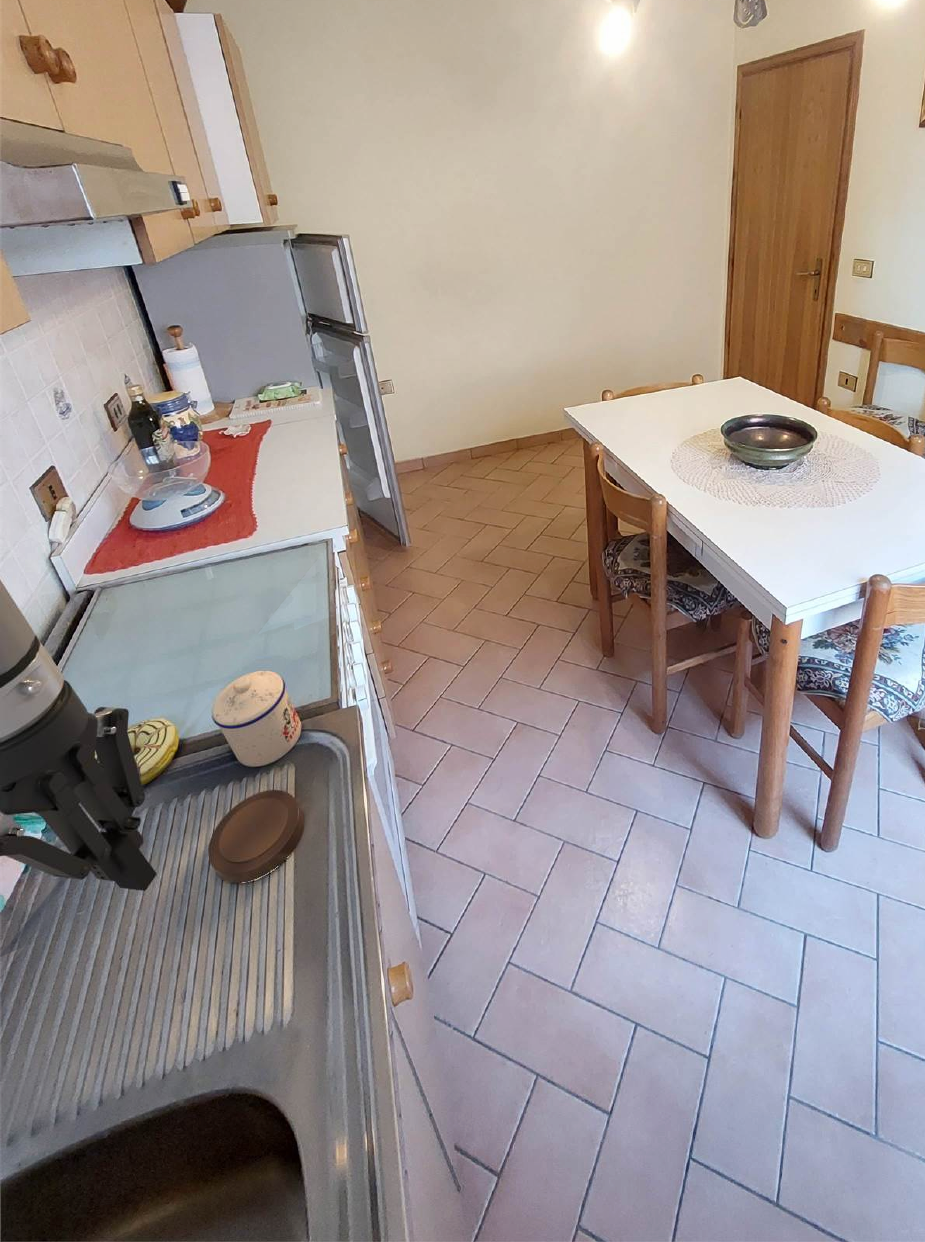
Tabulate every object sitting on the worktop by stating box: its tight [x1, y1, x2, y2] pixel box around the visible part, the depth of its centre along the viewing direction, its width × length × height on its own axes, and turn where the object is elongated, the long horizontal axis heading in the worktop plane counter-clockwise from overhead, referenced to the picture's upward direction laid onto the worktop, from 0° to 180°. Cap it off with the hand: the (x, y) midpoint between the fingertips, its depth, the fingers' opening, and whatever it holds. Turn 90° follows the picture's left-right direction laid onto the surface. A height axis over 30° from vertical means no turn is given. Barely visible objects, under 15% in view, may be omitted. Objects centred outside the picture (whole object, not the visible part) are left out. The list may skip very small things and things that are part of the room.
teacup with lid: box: [211, 670, 302, 768], centre depth 85 cm, size 12×9×12 cm
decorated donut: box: [95, 717, 180, 786], centre depth 85 cm, size 10×11×4 cm
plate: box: [207, 789, 305, 883], centre depth 74 cm, size 10×10×2 cm
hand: (138, 880), depth 58 cm, fingers closed
